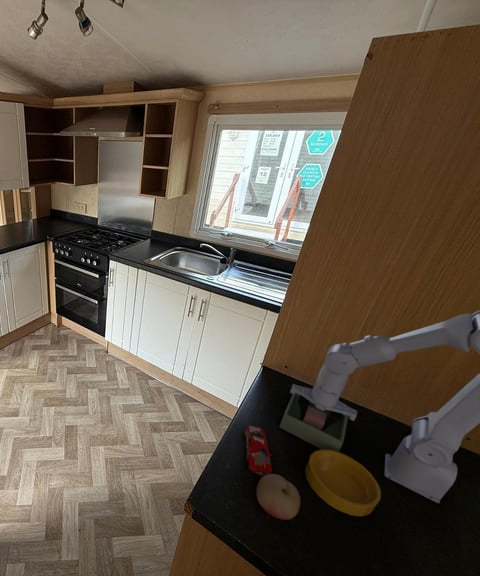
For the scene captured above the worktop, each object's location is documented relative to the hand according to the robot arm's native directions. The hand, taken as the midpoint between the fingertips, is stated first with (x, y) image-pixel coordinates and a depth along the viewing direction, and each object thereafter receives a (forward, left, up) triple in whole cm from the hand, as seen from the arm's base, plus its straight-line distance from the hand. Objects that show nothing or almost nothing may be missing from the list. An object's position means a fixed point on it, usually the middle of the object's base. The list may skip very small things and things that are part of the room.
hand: (312, 423), depth 87 cm
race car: (+9, +19, -2) cm, 21 cm away
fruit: (+2, +30, -2) cm, 30 cm away
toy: (0, 0, -1) cm, 1 cm away
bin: (0, 0, -2) cm, 2 cm away
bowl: (-8, +15, -2) cm, 17 cm away
